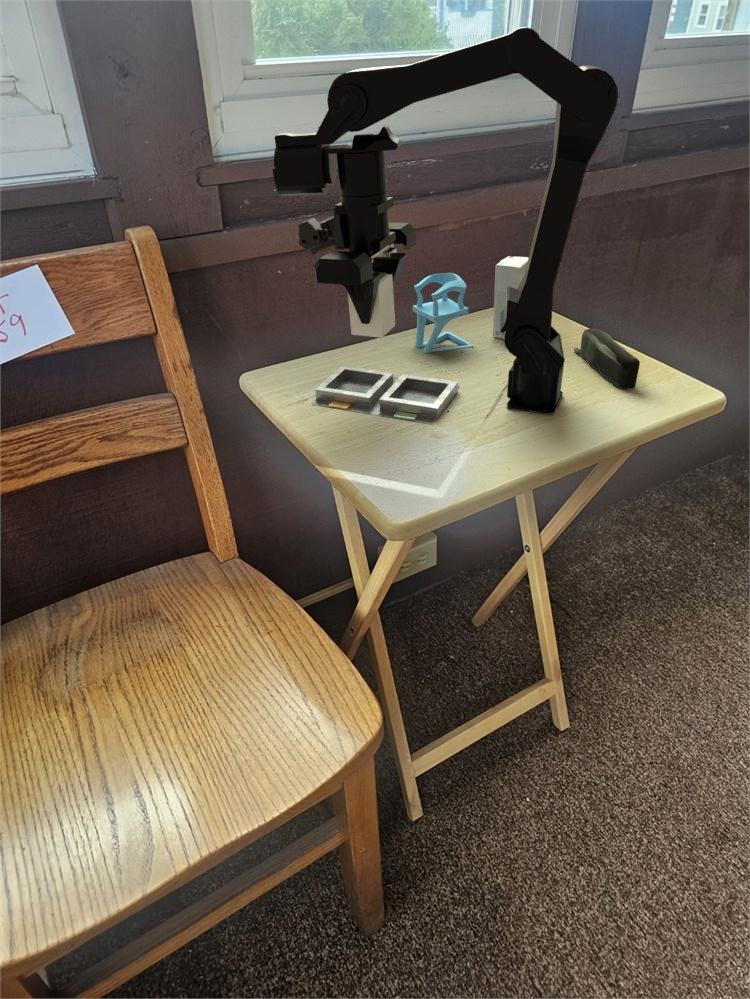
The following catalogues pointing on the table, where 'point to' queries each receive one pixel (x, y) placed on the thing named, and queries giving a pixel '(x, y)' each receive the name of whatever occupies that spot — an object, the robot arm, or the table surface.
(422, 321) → the chair
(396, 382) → the grey double tray
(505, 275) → the skincare box
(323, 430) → the table surface
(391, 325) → the plug
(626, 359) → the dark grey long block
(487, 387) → the table surface
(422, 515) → the table surface
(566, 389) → the table surface
